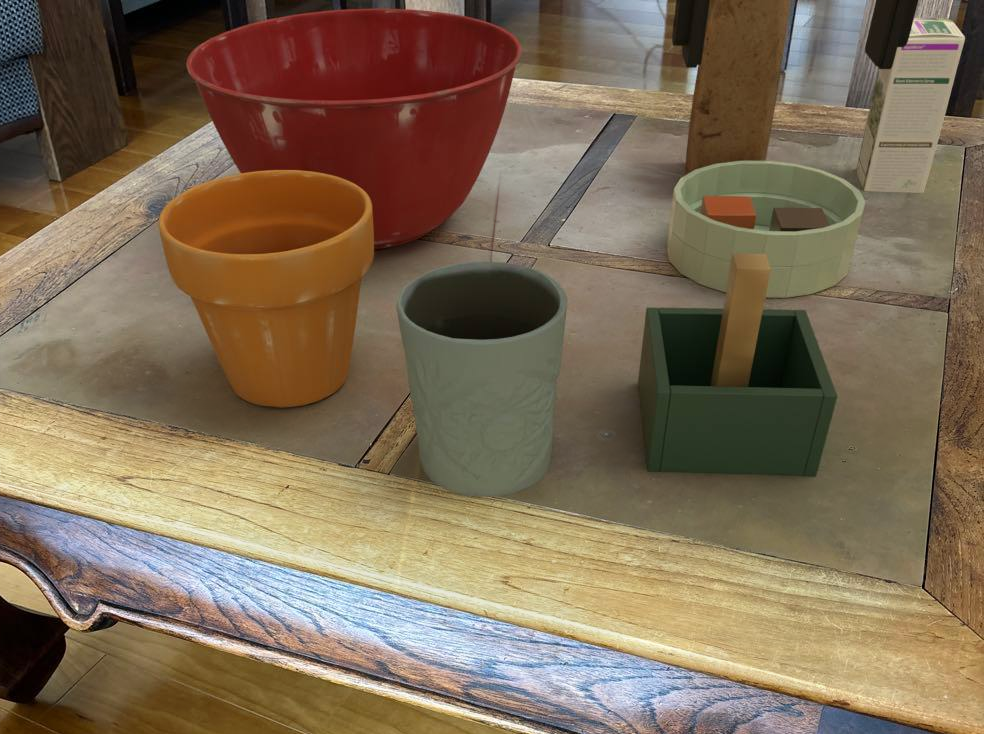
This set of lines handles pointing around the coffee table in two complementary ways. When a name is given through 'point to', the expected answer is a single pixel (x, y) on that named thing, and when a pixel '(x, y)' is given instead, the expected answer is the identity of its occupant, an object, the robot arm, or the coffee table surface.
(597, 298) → the coffee table surface
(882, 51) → the robot arm
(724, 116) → the block
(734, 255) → the stirring stick
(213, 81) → the mixing bowl
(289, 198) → the flower pot
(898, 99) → the syrup box
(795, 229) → the walnut block
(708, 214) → the terracotta block
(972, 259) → the coffee table surface
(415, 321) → the grey green cup
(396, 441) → the coffee table surface
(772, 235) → the bowl
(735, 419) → the box
